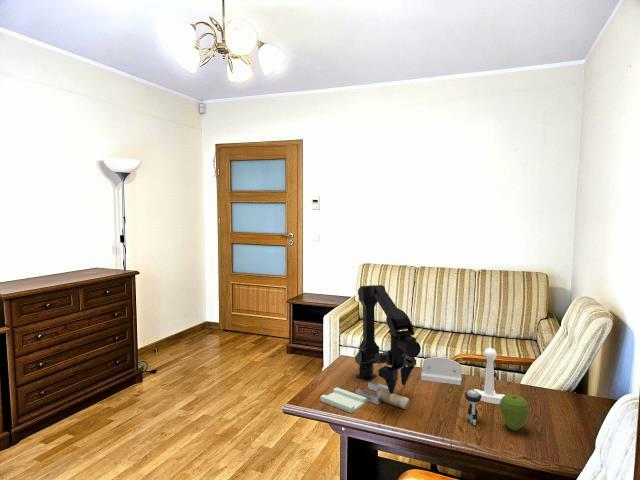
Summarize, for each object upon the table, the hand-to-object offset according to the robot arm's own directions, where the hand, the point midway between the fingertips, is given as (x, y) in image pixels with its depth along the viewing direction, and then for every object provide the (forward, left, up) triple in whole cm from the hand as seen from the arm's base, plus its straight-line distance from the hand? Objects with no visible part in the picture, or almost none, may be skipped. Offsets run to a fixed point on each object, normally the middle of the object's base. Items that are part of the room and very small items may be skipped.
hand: (397, 389), depth 152 cm
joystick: (-26, +25, -6) cm, 36 cm away
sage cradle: (+12, -16, -5) cm, 21 cm away
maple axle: (0, -1, -5) cm, 5 cm away
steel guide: (0, -10, -5) cm, 11 cm away
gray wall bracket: (-31, +4, -6) cm, 32 cm away
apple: (-9, +38, -6) cm, 40 cm away
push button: (-5, +26, -6) cm, 27 cm away
